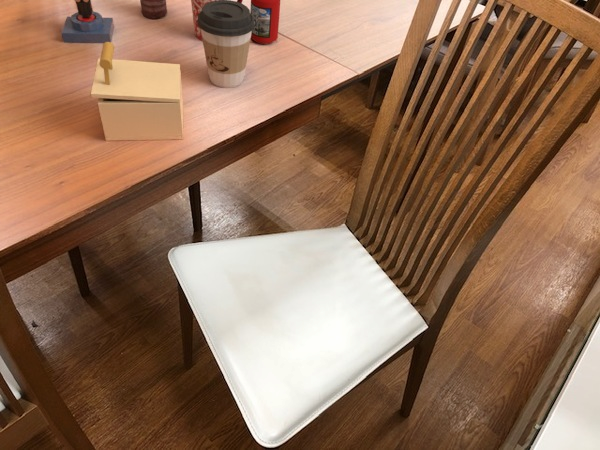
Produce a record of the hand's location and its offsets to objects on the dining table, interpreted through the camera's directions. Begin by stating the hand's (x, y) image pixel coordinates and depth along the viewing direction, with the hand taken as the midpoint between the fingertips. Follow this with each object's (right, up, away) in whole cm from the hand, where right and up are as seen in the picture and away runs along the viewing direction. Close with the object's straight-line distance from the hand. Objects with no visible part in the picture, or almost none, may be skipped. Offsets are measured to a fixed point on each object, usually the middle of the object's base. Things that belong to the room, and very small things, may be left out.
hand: (86, 16), depth 113 cm
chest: (+19, -27, -17) cm, 37 cm away
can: (+11, +6, +13) cm, 18 cm away
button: (0, -1, +1) cm, 2 cm away
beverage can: (+39, -2, +10) cm, 40 cm away
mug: (+28, -1, +9) cm, 29 cm away
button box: (-1, -3, +3) cm, 4 cm away
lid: (+19, -21, -23) cm, 37 cm away
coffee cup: (+32, -15, -4) cm, 36 cm away
